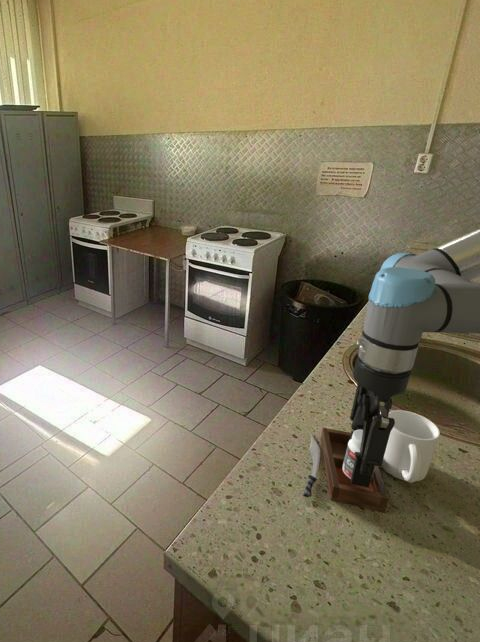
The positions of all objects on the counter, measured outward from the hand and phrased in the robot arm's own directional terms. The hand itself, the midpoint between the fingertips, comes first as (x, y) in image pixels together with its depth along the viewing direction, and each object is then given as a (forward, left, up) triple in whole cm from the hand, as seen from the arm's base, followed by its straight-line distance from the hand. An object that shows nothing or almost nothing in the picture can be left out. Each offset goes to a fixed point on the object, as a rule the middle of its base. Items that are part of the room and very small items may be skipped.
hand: (356, 472), depth 72 cm
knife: (+7, -4, -4) cm, 9 cm away
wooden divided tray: (0, -4, -4) cm, 5 cm away
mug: (-9, -7, -4) cm, 12 cm away
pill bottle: (0, 0, -1) cm, 1 cm away
